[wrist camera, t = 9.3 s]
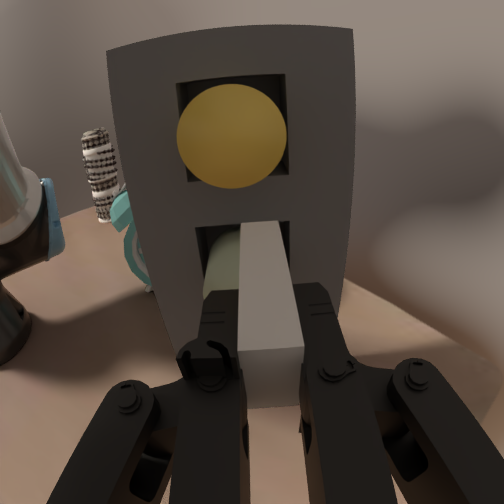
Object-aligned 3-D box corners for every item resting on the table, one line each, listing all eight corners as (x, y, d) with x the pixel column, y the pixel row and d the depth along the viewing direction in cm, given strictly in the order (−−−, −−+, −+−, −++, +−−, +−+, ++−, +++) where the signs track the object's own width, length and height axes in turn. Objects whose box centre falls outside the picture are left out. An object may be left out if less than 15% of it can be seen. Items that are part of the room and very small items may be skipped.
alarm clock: (127, 301, 46) (90, 184, 35) (136, 269, 54) (109, 166, 43) (232, 288, 47) (217, 162, 37) (227, 256, 55) (214, 148, 45)
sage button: (214, 288, 22) (204, 228, 20) (281, 284, 22) (280, 223, 20) (209, 326, 19) (196, 262, 16) (287, 322, 19) (288, 256, 16)
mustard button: (196, 170, 18) (187, 90, 15) (279, 164, 18) (275, 82, 15) (184, 193, 14) (170, 91, 12) (287, 185, 14) (284, 81, 11)
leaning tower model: (128, 206, 82) (112, 124, 69) (126, 218, 75) (107, 127, 62) (100, 213, 80) (81, 132, 67) (95, 226, 72) (73, 136, 59)
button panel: (199, 364, 34) (137, 56, 17) (314, 358, 34) (327, 40, 17) (194, 401, 30) (106, 50, 13) (322, 395, 30) (352, 28, 12)
